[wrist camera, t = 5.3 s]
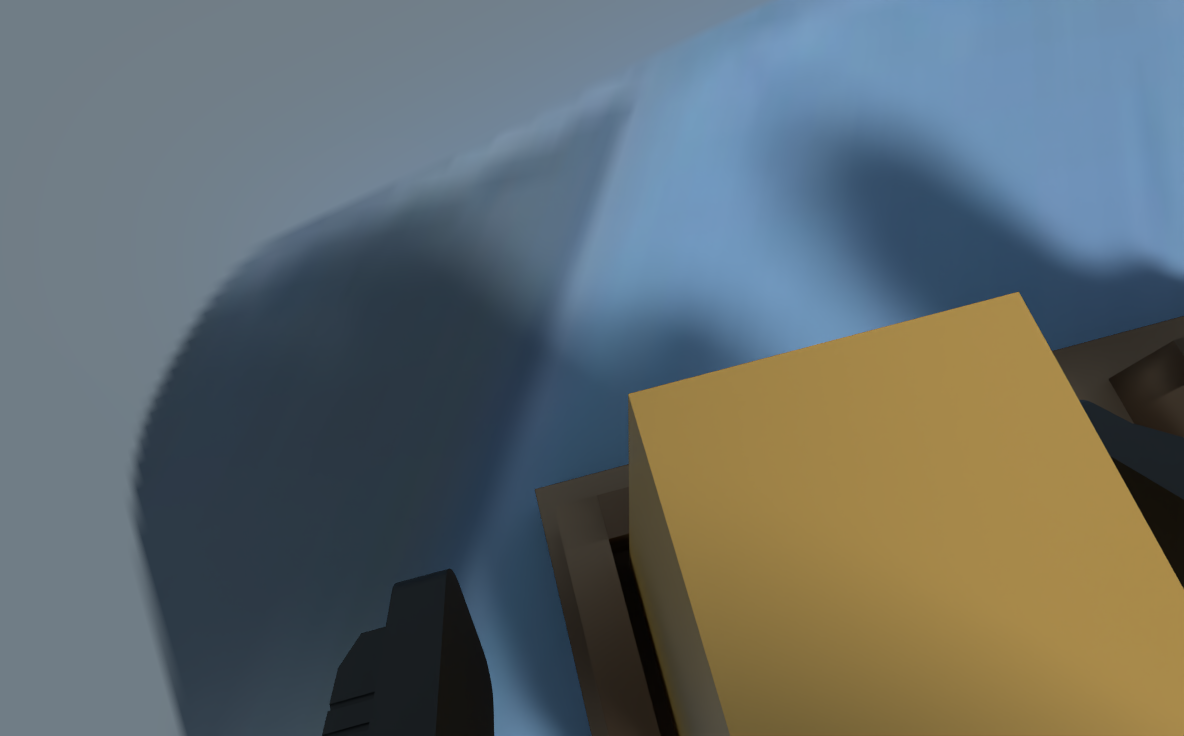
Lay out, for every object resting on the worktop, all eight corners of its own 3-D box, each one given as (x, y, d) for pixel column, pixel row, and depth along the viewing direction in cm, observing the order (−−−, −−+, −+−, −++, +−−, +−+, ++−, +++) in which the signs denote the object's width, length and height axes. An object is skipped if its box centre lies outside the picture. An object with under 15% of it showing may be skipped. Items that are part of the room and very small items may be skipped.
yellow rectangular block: (629, 565, 14) (628, 394, 5) (772, 526, 15) (1019, 290, 5) (690, 787, 13) (837, 1098, 4) (849, 740, 13) (1373, 931, 4)
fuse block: (542, 503, 17) (521, 465, 13) (1266, 309, 17) (1411, 229, 14) (639, 916, 14) (641, 996, 10) (1507, 655, 14) (1762, 652, 11)
